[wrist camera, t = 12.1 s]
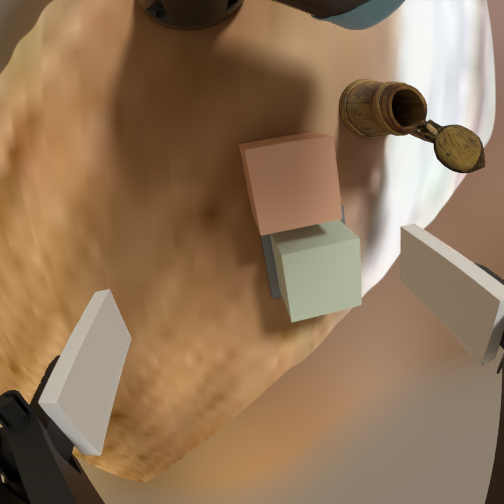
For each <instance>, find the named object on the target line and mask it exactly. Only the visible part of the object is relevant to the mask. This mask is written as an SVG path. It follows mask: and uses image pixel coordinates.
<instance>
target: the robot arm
mask: <svg viewBox="0 0 504 504" xmlns="http://www.w3.org/2000/svg"><path fill="white" fill-rule="evenodd" d="M272 1H275V2H278V3H281V4H284V5H287V6H290V7H292V8H295V9H298V10H300V11H303V12H306V13H308V14H311V16H312V17H313V18H315V19H318V20H323V21H328V22H331V23H333V24H336V25H338V26H341V27H343V28H346V29H350V30H363V29H367V28H370V27H372V26H375V25H376V24H378V23H380V22H382V21H383V20H385V19H386V18H387V17H389V16H390V15H391V14H392V13H393V12H395V11H396V10H397V9H398V8H399V7H400V6H401V5H402V3H403V2H404V1H405V0H272ZM138 2H139V4H140V6H141V7H142V9H143V10H144V12H145V13H146V14H147V15H148V16H149V17H150V18H151V19H152V20H153V21H155V22H156V23H158V24H160V25H162V26H164V27H167V28H171V29H176V30H197V29H203V28H207V27H210V26H213V25H215V24H218V23H220V22H221V21H223V20H225V19H226V18H228V17H229V16H231V15H232V14H233V13H234V12H235V11H236V10H237V9H238V8H239V6H240V5H241V4H242V2H243V0H138ZM400 280H401V281H402V282H403V283H404V284H405V285H406V286H407V287H408V288H409V289H410V290H411V291H412V292H413V293H414V294H415V295H416V296H417V297H418V299H419V300H421V302H423V304H424V305H425V306H426V307H427V308H428V309H429V310H430V311H431V312H432V313H433V314H434V315H435V316H436V317H437V318H438V319H439V320H440V321H441V322H442V324H443V325H444V326H445V327H446V328H447V329H448V330H449V331H450V332H451V333H452V334H453V335H454V337H455V338H456V339H457V340H458V341H459V342H460V343H461V344H462V345H463V347H464V348H465V349H466V350H467V351H468V352H469V353H470V354H471V355H472V357H473V358H474V359H475V360H476V361H477V362H478V364H479V365H480V366H481V365H483V364H485V363H487V362H489V361H491V360H492V359H494V358H495V357H496V354H497V351H498V348H499V345H500V346H501V347H502V348H503V349H504V280H503V279H501V278H500V277H498V275H496V274H495V275H494V273H493V272H492V271H491V270H489V269H488V268H486V267H484V266H482V265H479V264H477V263H473V262H471V261H470V260H468V259H467V258H465V257H464V256H462V255H461V254H460V253H458V252H457V251H455V250H454V249H452V248H451V247H449V246H448V245H446V244H445V243H443V242H442V241H440V240H439V239H437V238H436V237H434V236H433V235H431V234H430V233H428V232H427V231H425V230H423V229H422V228H420V227H419V226H417V225H416V224H410V225H406V226H401V253H400ZM131 339H132V338H131V336H130V334H129V331H128V329H127V327H126V325H125V323H124V321H123V318H122V316H121V314H120V312H119V309H118V307H117V305H116V302H115V300H114V298H113V295H112V293H111V290H110V289H107V290H102V291H97V292H95V293H94V295H93V297H92V298H91V300H90V302H89V304H88V305H87V307H86V309H85V311H84V312H83V314H82V316H81V318H80V320H79V321H78V323H77V325H76V327H75V329H74V331H73V332H72V334H71V336H70V338H69V340H68V342H67V344H66V346H65V348H64V349H63V351H62V353H61V355H58V356H57V357H56V358H55V359H54V360H53V361H52V362H51V363H50V364H49V366H48V368H47V370H46V372H45V376H43V378H42V380H41V383H40V384H39V386H38V388H37V390H36V392H35V394H34V396H33V399H32V401H31V403H30V405H29V404H28V403H27V402H26V400H25V399H24V398H23V397H22V395H21V394H20V393H19V391H16V390H10V391H7V392H5V393H3V394H2V395H1V396H0V423H1V425H2V426H3V427H2V428H0V504H105V503H104V502H103V500H102V499H101V497H100V496H99V494H98V493H97V491H96V490H95V488H94V487H93V485H92V483H91V482H90V480H89V479H88V477H87V475H86V474H85V472H84V470H83V469H82V467H81V465H80V463H79V462H78V460H77V458H76V457H75V456H74V455H73V454H72V451H73V447H74V446H75V447H76V448H77V449H78V450H79V451H80V452H81V453H82V454H83V455H101V454H102V449H103V445H104V440H105V436H106V432H107V427H108V423H109V419H110V415H111V411H112V407H113V403H114V399H115V395H116V392H117V388H118V384H119V381H120V377H121V373H122V370H123V366H124V363H125V359H126V356H127V352H128V349H129V346H130V342H131ZM501 368H502V395H501V410H500V422H499V430H498V438H497V446H496V452H495V459H494V464H493V470H492V475H491V480H490V485H489V489H488V493H487V497H486V501H485V504H504V354H503V357H502V359H501V362H500V364H499V367H498V370H497V373H498V374H499V372H500V370H501ZM1 475H3V476H4V481H5V482H4V483H3V482H2V479H1Z"/></svg>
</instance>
